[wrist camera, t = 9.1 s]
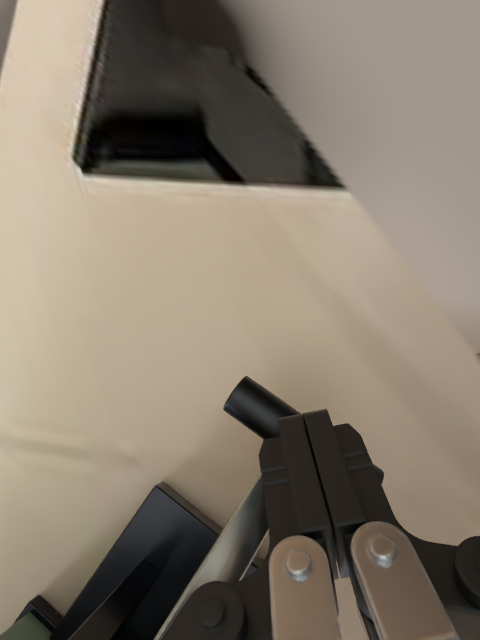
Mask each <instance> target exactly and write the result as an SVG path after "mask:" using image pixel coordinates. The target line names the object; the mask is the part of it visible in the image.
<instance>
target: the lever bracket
mask: <svg viewBox="0 0 480 640" xmlns="http://www.w3.org/2000/svg"><path fill="white" fill-rule="evenodd" d="M222 530H223V529H222V528H220V527H219V526H218V525H217V524H215V523H214V522H213V521H212V520H210V519H209V518H208V517H207V516H205V515H204V514H203V513H202V512H200V511H199V510H198V509H197V508H195V507H194V506H193V505H192V504H190V503H189V502H188V501H187V500H185V499H184V498H183V497H182V496H180V495H179V494H178V493H177V492H175V491H174V490H173V489H172V488H170V487H169V486H168V485H167V484H165V483H164V482H160V483H159V484H157V485H155V486H154V488H153V489H152V491H151V492H150V493H149V495H148V496H147V498H146V499H145V501H144V502H143V504H142V505H141V506H140V508H139V509H138V511H137V512H136V514H135V515H134V516H133V518H132V519H131V521H130V522H129V524H128V525H127V527H126V528H125V529H124V531H123V532H122V534H121V535H120V537H119V538H118V540H117V541H116V542H115V544H114V545H113V547H112V548H111V550H110V551H109V552H108V554H107V555H106V557H105V558H104V560H103V561H102V563H101V564H100V565H99V567H98V568H97V570H96V571H95V573H94V574H93V576H92V577H91V578H90V580H89V581H88V583H87V584H86V586H85V587H84V588H83V590H82V591H81V593H80V594H79V596H78V597H77V599H76V600H75V601H74V603H73V604H72V606H71V607H70V609H69V610H68V612H67V613H66V614H65V616H64V617H63V619H62V620H61V622H60V623H59V624H58V626H57V627H56V629H55V630H54V632H53V633H52V635H51V636H50V637H49V640H152V639H153V638H154V636H155V634H156V633H157V631H158V630H159V628H160V627H161V625H162V624H163V622H164V620H165V619H166V617H167V616H168V614H169V613H170V611H171V609H172V608H173V606H174V605H175V603H176V602H177V600H178V599H179V597H180V595H181V594H182V592H183V591H184V589H185V588H186V586H187V584H188V583H189V581H190V580H191V578H192V577H193V575H194V573H195V572H196V570H197V569H198V567H199V566H200V564H201V563H202V561H203V559H204V558H205V556H206V555H207V553H208V552H209V550H210V548H211V547H212V545H213V544H214V542H215V541H216V539H217V538H218V536H219V534H220V533H221V531H222ZM262 563H263V561H262V560H260V559H259V558H258V557H257V556H255V557H254V559H253V561H252V562H251V564H250V566H249V568H248V569H247V571H246V573H245V575H244V577H243V578H242V579H244V578H245V577H247V576H249V575H250V574H252V573H253V572H255V571H256V570H257V569H258V568H259V567H260V566H261V564H262Z"/></svg>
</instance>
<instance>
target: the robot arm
mask: <svg viewBox="0 0 480 640" xmlns="http://www.w3.org/2000/svg"><path fill="white" fill-rule="evenodd" d="M277 419H278V424H279V429H280V434H281V436H280V437H275V438H269V439H264V440H263V443H262V446H261V450H260V453H259V461H260V468H261V476H262V483H263V491H264V498H265V506H266V513H267V521H268V528H269V536H270V545H269V550H268V554H267V556H266V558H265V560H264V562H263V563H262V564H261V566H260V567H259V568H258V569H257V570H256V571H255V572H253V573H252V574H250V575H249V576H247V577H245V578H244V579H242V580H240V581H238V582H237V583H235V584H233V585H232V586H231V585H230V584H228V583H226V582H222V581H211V582H208V583H205V584H203V585H201V586H200V587H199V588H197V589H196V590H195V591H194V592H193V593H192V594H191V596H190V597H189V599H188V600H187V602H186V603H185V605H184V606H183V608H182V609H181V611H180V612H179V614H178V615H177V617H176V618H175V620H174V622H173V623H172V625H171V626H170V628H169V629H168V631H167V632H166V634H165V635H164V637H163V638H162V640H341V634H340V628H339V622H338V615H339V610H338V603H337V596H336V589H335V583H334V579H338V572H337V565H336V560H337V564H338V568H339V572H340V575H341V578H343V577H349V576H350V579H351V582H352V586H353V590H354V593H355V597H356V604H357V610H358V614H359V617H360V620H361V622H362V625H363V628H364V631H365V634H366V637H367V640H480V536H474V537H470V538H468V539H465V540H464V541H463V542H461V543H460V545H459V546H452V545H445V544H439V543H432V542H428V541H424V540H421V539H419V538H417V537H415V536H413V535H411V534H410V533H408V532H407V531H406V530H405V529H404V528H403V527H402V526H401V525H400V524H399V523H398V521H397V520H396V518H395V516H394V514H393V512H392V510H391V507H390V505H389V502H388V500H387V498H386V495H385V493H384V490H383V488H382V486H381V483H380V481H379V478H378V476H377V473H376V471H375V469H374V467H373V464H372V461H371V459H370V457H369V454H368V453H367V449H366V447H365V444H364V442H363V440H362V437H361V435H360V434H359V433H358V432H357V431H356V430H355V429H354V428H353V427H351V426H350V425H349V424H348V423H347V424H342V425H337V426H333V425H332V422H331V420H330V417H329V414H328V411H327V409H323V410H318V411H313V412H308V413H303V420H304V424H303V420H302V416H301V414H298V415H293V416H288V417H282V418H277ZM335 556H336V557H335Z"/></svg>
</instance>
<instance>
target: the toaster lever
mask: <svg viewBox="0 0 480 640" xmlns="http://www.w3.org/2000/svg"><path fill="white" fill-rule="evenodd" d="M223 410H224V411H225V412H227V413H228V414H230V415H231V416H232V417H234V418H235V419H236V420H238V421H239V422H241V423H242V424H243V425H245V426H246V427H247V428H249V429H250V430H252V431H253V432H254V433H256V434H257V435H258V436H260V437H261V438H263V439H269V438H275V437H280V436H281V434H280V429H279V424H278V419H277V418H282V417H288V416H293V415H298V414H301V413H299V412H298V411H296V410H295V409H294V408H292V407H291V406H289V405H288V404H286V403H285V402H284V401H282V400H281V399H279V398H278V397H276V396H275V395H274V394H272V393H271V392H269V391H268V390H266V389H265V388H263V387H262V386H261V385H259V384H258V383H256V382H255V381H253V380H252V379H251V378H249V377H248V376H245V377H244V378H243V379H242V380H241V381H240V382H239V383H238V385H237V386H236V387H235V389H234V390H233V392H232V393H231V395H230V396H229V398H228V399H227V401H226V403H225V405H224V408H223ZM301 416H302V420H303V415H302V414H301ZM303 424H304V420H303ZM373 467H374V469H375V471H376V473H377V476H378V478H379V481H380V483H381V484H382V481H383V477H384V472H383V471H382V470H381V469H379V468H378V467H377V466H375V465H374V464H373ZM268 533H269V528H268V521H267V513H266V506H265V498H264V491H263V483H262V476H261V470H260V472H259V473H258V475H257V477H256V478H255V480H254V481H253V483H252V484H251V486H250V487H249V489H248V491H247V492H246V494H245V495H244V497H243V498H242V500H241V502H240V503H239V505H238V506H237V508H236V509H235V511H234V512H233V514H232V516H231V517H230V519H229V520H228V522H227V523H226V525H225V527H224V528H223V530H222V531H221V533H220V534H219V536H218V538H217V539H216V541H215V542H214V544H213V545H212V547H211V548H210V550H209V552H208V553H207V555H206V556H205V558H204V559H203V561H202V563H201V564H200V566H199V567H198V569H197V570H196V572H195V573H194V575H193V577H192V578H191V580H190V581H189V583H188V584H187V586H186V588H185V589H184V591H183V592H182V594H181V595H180V597H179V599H178V600H177V602H176V603H175V605H174V606H173V608H172V609H171V611H170V613H169V614H168V616H167V617H166V619H165V620H164V622H163V624H162V625H161V627H160V628H159V630H158V631H157V633H156V634H155V636H154V638H153V639H152V640H162V638H163V637H164V635H165V634H166V632H167V631H168V629H169V628H170V626H171V625H172V623H173V622H174V620H175V618H176V617H177V615H178V614H179V612H180V611H181V609H182V608H183V606H184V605H185V603H186V602H187V600H188V599H189V597H190V596H191V594H192V593H193V592H194V591H195V590H196V589H197V588H199V587H200V586H201V585H203V584H205V583H208V582H211V581H222V582H226V583H228V584H230V585H231V586H232V585H233V584H235V583H237V582H238V581H240V580H242V578H243V577H244V575H245V573H246V571H247V569H248V568H249V566H250V564H251V562H252V561H253V559H254V557H255V555H256V554H257V552H258V550H259V548H260V547H261V545H262V543H263V541H264V540H265V538H266V536H267V534H268Z"/></svg>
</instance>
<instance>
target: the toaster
mask: <svg viewBox="0 0 480 640" xmlns="http://www.w3.org/2000/svg"><path fill="white" fill-rule="evenodd" d="M62 619H63V617H62V616H61V615H60V614H58V613H57V612H56V611H55V610H54V609H53V608H52V607H51V606H50V605H49V604H48V603H47V602H46V601H45V600H44V599H43V598H42V597H40V596H39V595H37V596H36V597H35V598H33V599H32V600H31V601H29V603H28V604H27V605H26V607H25V608H24V610H23V611H22V612H21V614H20V615H19V617H18V618H17V619H16V621H15V622H14V624H13V625H12V626H11V627H10V628H9V629H7V630H6V631H5V632H4V633H2V634H1V635H0V640H49V637H50V636H51V635H52V633H53V632H54V630H55V629H56V627H57V626H58V624H59V623H60V622H61V620H62Z"/></svg>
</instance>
